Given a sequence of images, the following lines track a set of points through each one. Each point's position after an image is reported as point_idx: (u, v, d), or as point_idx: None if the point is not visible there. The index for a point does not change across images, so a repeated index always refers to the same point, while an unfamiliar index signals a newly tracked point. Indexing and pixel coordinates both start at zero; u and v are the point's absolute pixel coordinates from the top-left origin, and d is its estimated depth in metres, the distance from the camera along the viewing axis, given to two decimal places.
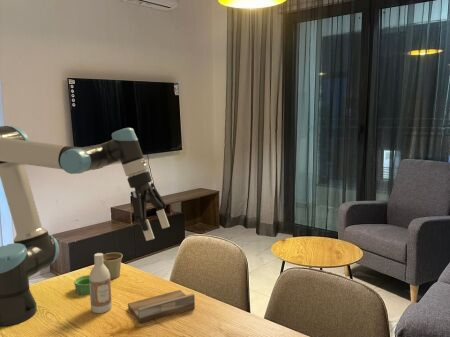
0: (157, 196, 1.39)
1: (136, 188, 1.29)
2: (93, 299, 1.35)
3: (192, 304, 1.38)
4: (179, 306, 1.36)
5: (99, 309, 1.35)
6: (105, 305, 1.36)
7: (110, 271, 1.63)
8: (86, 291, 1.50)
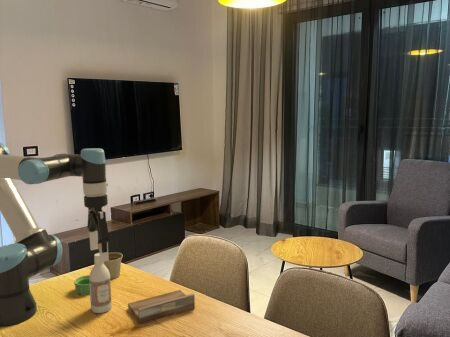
0: None
1: (98, 209, 1.30)
2: (93, 299, 1.35)
3: (192, 304, 1.38)
4: (179, 306, 1.36)
5: (99, 309, 1.35)
6: (105, 305, 1.36)
7: (110, 271, 1.63)
8: (86, 291, 1.50)
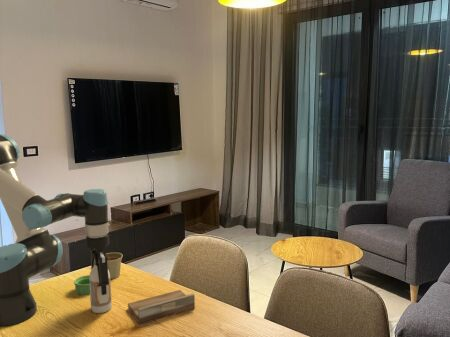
0: None
1: (100, 250, 1.32)
2: (93, 299, 1.35)
3: (192, 304, 1.38)
4: (179, 306, 1.36)
5: (99, 309, 1.35)
6: (105, 305, 1.36)
7: (110, 271, 1.63)
8: (86, 291, 1.50)
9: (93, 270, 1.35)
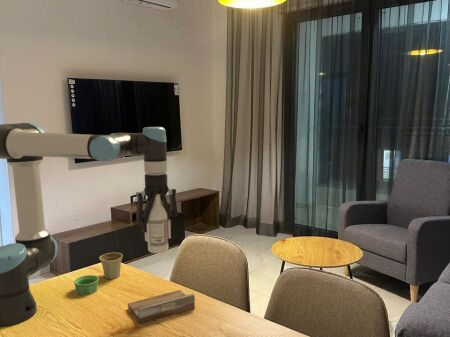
0: None
1: None
2: (166, 237, 1.34)
3: (192, 304, 1.38)
4: (179, 306, 1.36)
5: None
6: None
7: (110, 271, 1.63)
8: (86, 291, 1.50)
9: (161, 209, 1.33)
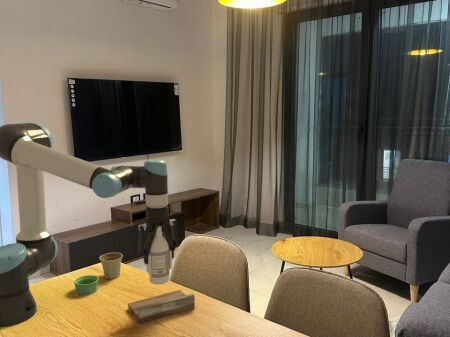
0: None
1: None
2: (167, 268, 1.36)
3: (192, 304, 1.38)
4: (179, 306, 1.36)
5: (169, 275, 1.38)
6: None
7: (110, 271, 1.63)
8: (86, 291, 1.50)
9: (162, 240, 1.35)
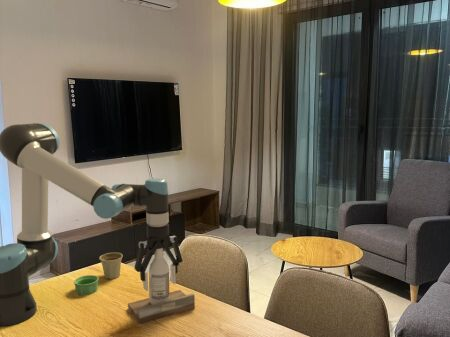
0: None
1: None
2: (167, 290, 1.37)
3: (192, 304, 1.38)
4: (179, 306, 1.36)
5: None
6: None
7: (110, 271, 1.63)
8: (86, 291, 1.50)
9: (163, 263, 1.36)
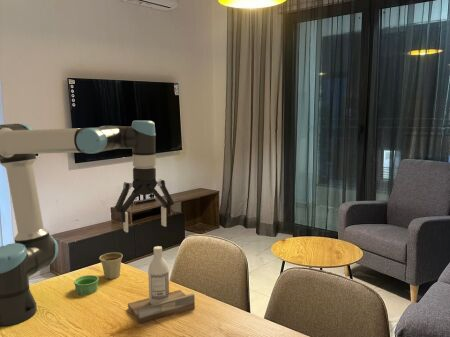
0: None
1: None
2: (167, 290, 1.37)
3: (192, 304, 1.38)
4: (179, 306, 1.36)
5: None
6: None
7: (110, 271, 1.63)
8: (86, 291, 1.50)
9: (162, 263, 1.36)
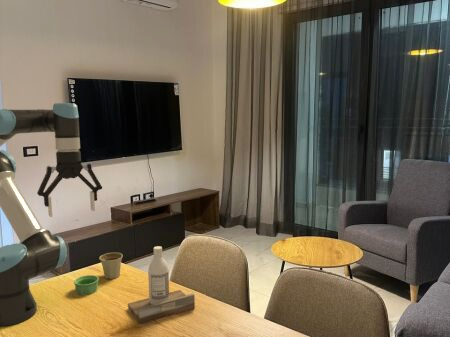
0: None
1: None
2: (167, 290, 1.37)
3: (192, 304, 1.38)
4: (179, 306, 1.36)
5: None
6: None
7: (110, 271, 1.63)
8: (86, 291, 1.50)
9: (162, 263, 1.36)
